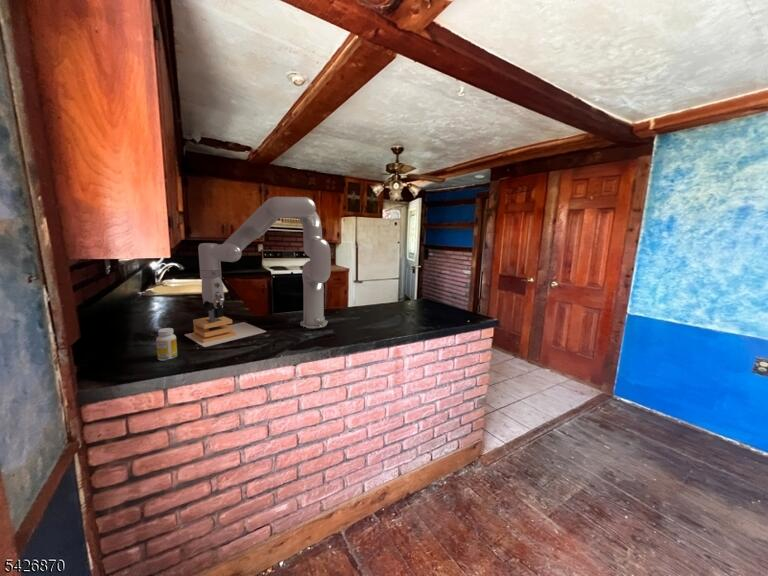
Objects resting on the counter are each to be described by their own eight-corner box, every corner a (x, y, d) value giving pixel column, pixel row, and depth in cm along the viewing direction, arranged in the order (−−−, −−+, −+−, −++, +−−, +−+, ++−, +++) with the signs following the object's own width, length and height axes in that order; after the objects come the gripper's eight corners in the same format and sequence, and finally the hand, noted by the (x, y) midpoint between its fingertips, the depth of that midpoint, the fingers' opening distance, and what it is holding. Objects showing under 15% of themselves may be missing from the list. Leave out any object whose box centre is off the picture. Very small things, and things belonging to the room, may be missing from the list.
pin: (220, 333, 130) (218, 310, 128) (212, 335, 127) (210, 311, 126) (216, 331, 132) (215, 308, 130) (208, 333, 129) (207, 310, 127)
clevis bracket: (236, 335, 131) (235, 319, 130) (203, 343, 121) (202, 326, 120) (223, 328, 139) (222, 314, 137) (191, 335, 128) (189, 320, 127)
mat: (267, 332, 138) (267, 331, 138) (204, 348, 117) (204, 347, 117) (244, 323, 150) (244, 322, 150) (183, 336, 130) (183, 334, 129)
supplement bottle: (160, 362, 104) (157, 333, 102) (155, 357, 108) (152, 329, 106) (180, 357, 108) (177, 330, 107) (174, 353, 112) (172, 326, 110)
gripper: (230, 275, 123) (232, 317, 126) (211, 271, 133) (213, 309, 136) (210, 277, 117) (213, 321, 120) (191, 272, 127) (194, 312, 130)
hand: (213, 315), depth 128 cm, fingers open, 9 cm apart
